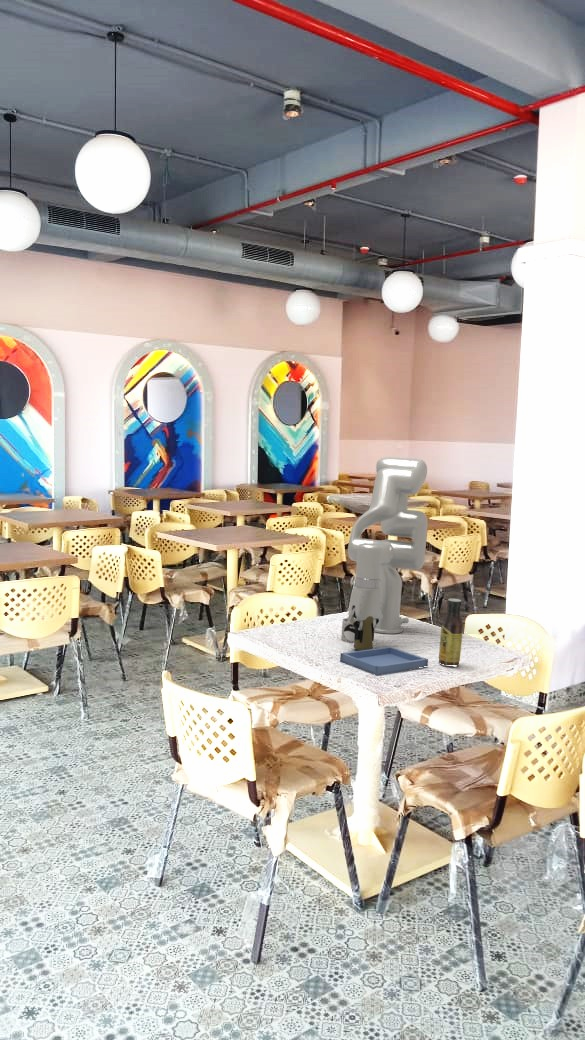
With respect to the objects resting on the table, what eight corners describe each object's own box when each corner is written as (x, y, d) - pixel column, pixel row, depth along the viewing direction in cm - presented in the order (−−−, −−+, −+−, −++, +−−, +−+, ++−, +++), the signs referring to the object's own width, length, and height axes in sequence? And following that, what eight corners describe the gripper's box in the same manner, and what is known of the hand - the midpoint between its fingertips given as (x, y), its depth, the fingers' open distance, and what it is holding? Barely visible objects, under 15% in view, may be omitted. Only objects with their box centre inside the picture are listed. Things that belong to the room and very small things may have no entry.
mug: (342, 642, 265) (343, 622, 264) (340, 637, 272) (341, 617, 271) (372, 644, 265) (374, 623, 265) (370, 639, 272) (371, 619, 271)
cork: (373, 645, 259) (375, 611, 258) (372, 650, 253) (375, 616, 252) (353, 644, 259) (355, 610, 258) (353, 649, 253) (355, 614, 252)
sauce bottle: (436, 661, 247) (441, 596, 246) (457, 663, 247) (462, 598, 245) (440, 667, 241) (445, 600, 239) (461, 668, 241) (466, 602, 239)
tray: (389, 654, 253) (390, 646, 253) (427, 667, 240) (428, 659, 240) (340, 661, 241) (340, 653, 241) (376, 675, 228) (377, 667, 228)
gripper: (379, 579, 262) (375, 635, 264) (339, 582, 252) (335, 641, 254) (395, 583, 256) (391, 640, 258) (354, 587, 246) (351, 647, 248)
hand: (363, 640), depth 256 cm, fingers closed on cork, 3 cm apart
